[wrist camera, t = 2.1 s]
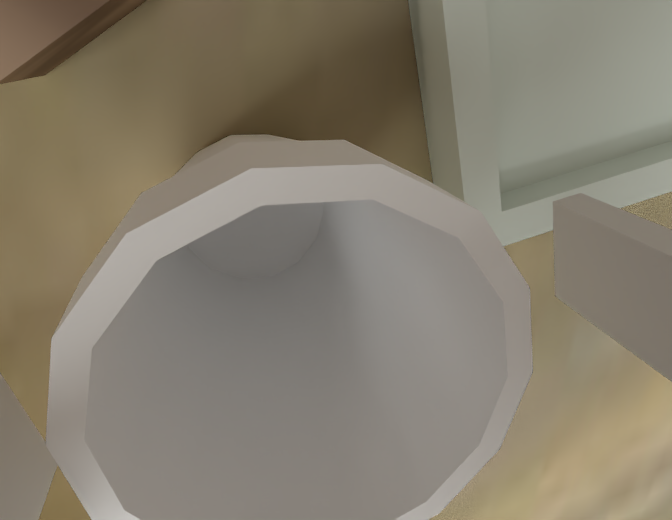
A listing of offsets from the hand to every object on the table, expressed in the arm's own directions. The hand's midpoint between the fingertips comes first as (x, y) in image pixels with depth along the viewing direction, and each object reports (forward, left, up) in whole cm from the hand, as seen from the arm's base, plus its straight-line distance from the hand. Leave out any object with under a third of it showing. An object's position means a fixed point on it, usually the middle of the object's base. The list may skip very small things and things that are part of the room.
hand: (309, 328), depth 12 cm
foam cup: (0, 0, -11) cm, 11 cm away
